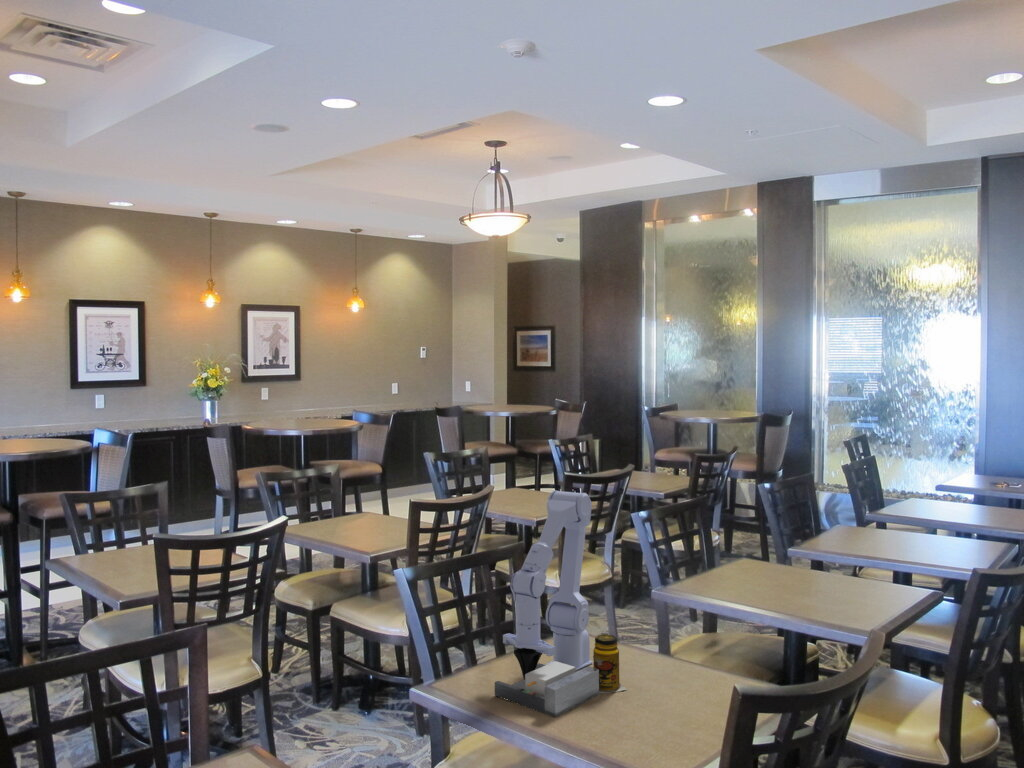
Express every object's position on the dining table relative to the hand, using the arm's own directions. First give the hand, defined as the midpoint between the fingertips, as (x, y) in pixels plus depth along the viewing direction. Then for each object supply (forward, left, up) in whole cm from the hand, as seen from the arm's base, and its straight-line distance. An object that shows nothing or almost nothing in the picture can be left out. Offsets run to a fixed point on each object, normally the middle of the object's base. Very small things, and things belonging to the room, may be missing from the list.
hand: (528, 679), depth 196 cm
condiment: (-14, +12, -3) cm, 19 cm away
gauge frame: (0, +6, -2) cm, 6 cm away
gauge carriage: (+1, +7, -1) cm, 7 cm away
